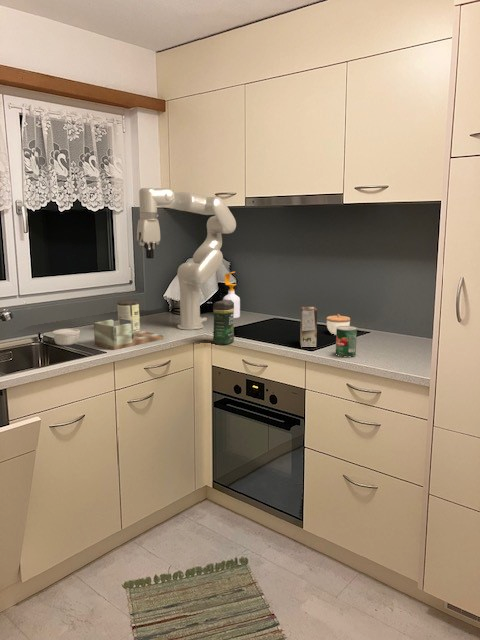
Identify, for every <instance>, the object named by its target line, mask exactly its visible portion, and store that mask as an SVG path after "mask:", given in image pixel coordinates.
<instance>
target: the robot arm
mask: <svg viewBox="0 0 480 640" xmlns="http://www.w3.org/2000/svg"><path fill="white" fill-rule="evenodd" d="M138 196H139V197H138V198H139V199H138V200H139V202H138V203H139V219H138V220H137V221H138V222H137V229H136V230H137V231H136V238H137V239H136V241H137V242H138V244H139V246H142V247H144V249H145V256H146V257H145V258H146V259H154V258H155V257H154V256H155V255H154V250H155V248H156V246H158V245H160V242H161V228H160V227H161V226H160V223H159V219H158V217H159V214H158V207H159V208H160V207H161V208H165V209H171V210H172V209H173V210H177V211H183V212H189V213H193V214H200V215H205V216H210V217H209V218H208V220H207V223H206V229H207V231H206V232H207V235H206V238H205V240H204V242H203V241H202V242H203V243H202V244H201V245H200V246H199V247H198V248H197V249H196V250H195V252H194V254H193V255H192V262H184V263H181V265H179V267H178V268H177V279H178V284H179V285H178V286H179V304H180V305H179V309H180V310H179V311H180V314H179V315H180V323H179V324H177V328H178V329H179V330H185V331H186V330H187V331H190V330H199V329H202V328H204V323H203V322H207V321H208V317H206V316H205V317H204V316H203V317H201V308H200V305H201V302H200V301H201V299H200V298H201V296H200V295H201V294H200V293H201V292H200V287H199V285H204V284H206V283H207V282H208V281H210V279H211V278H212V277H213V276H214V275H215V274H216V272H217V271H218V270H219V269H220V267H221V266H222V265H223V259H224V256H223V253H222V251H221V248H222V246H223V236H222V234H225V235H226V234H232V233H234V232H235V230H236V227H237V221H236V218H235V217H234V215H233V213H232V212H231V211H230V209H229V207H228V206H227V204H226V202H225V201H224V200H223V199H222V198H221V197H220V196H204V195H200V194H195V193H191V192H174V191H173V190H172V189H170V188H169V187H168V188H167V187H158V188H152V187H141V188H140V189H139V191H138ZM211 215H212V216H211Z"/></svg>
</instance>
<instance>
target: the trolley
mask: <svg viewBox="0 0 480 640" xmlns="http://www.w3.org/2000/svg"><path fill="white" fill-rule="evenodd" d="M119 323H120V325H123V324H131V332H132V339H133V337H134V334H133V333H134V332H133V321H132V320H129V319H124V318H119Z"/></svg>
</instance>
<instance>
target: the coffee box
mask: <svg viewBox="0 0 480 640" xmlns="http://www.w3.org/2000/svg"><path fill="white" fill-rule="evenodd" d="M317 327H318V309H317V307H316V306H313V305H312V306H300V329H299V330H300V334H299V335H300V338H299V344H300V347H301V348H302V347H316V348H317V333H318V330H317V329H318V328H317Z"/></svg>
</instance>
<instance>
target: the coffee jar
mask: <svg viewBox="0 0 480 640" xmlns="http://www.w3.org/2000/svg"><path fill="white" fill-rule="evenodd" d="M212 306H213V309H212V310H213V334H212V337H213V338H212V339H213V340H212V342H213V343H214V344H216V345H229V344H231V343H233V342H234V341H235V328H234V318H233V315H234V302H233V301H232V300H223V299H222V300H219V301H215V302H214V303H213V305H212Z"/></svg>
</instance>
